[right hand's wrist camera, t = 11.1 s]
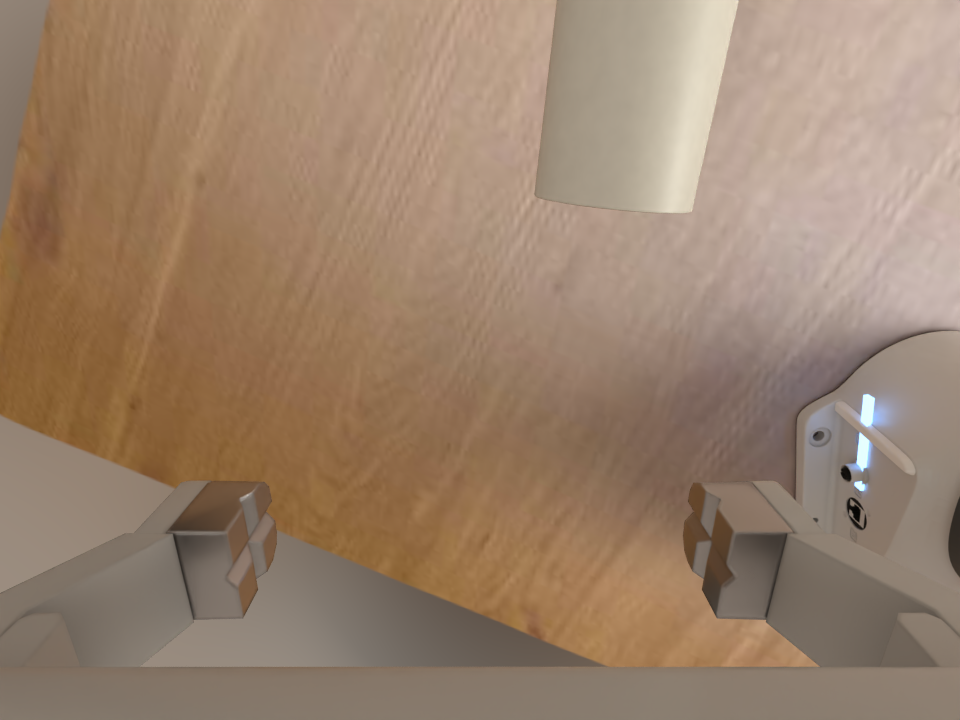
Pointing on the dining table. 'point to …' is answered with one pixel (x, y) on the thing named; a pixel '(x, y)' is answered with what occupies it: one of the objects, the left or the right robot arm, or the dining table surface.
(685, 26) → the rod
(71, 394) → the dining table surface
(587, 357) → the dining table surface
